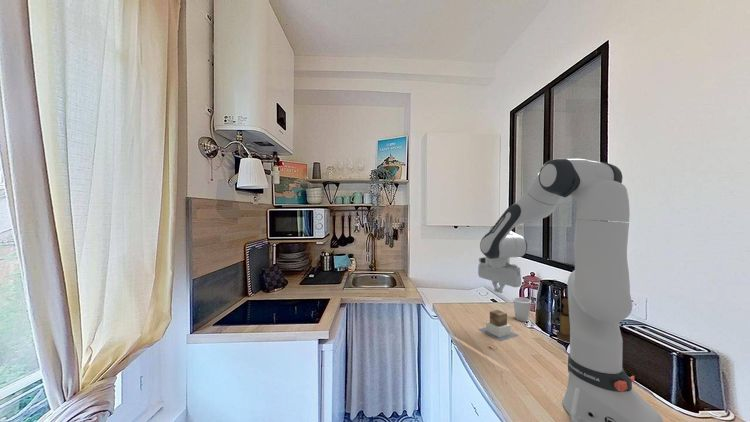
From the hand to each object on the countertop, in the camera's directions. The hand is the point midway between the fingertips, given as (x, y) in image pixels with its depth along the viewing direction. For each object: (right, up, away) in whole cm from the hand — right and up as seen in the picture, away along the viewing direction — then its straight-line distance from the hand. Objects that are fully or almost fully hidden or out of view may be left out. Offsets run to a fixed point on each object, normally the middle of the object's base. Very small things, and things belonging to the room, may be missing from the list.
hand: (498, 292), depth 120 cm
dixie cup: (+20, -20, +18) cm, 33 cm away
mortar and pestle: (+27, -20, -5) cm, 33 cm away
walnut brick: (0, -14, 0) cm, 14 cm away
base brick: (0, -18, 0) cm, 18 cm away
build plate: (0, -19, 0) cm, 19 cm away
